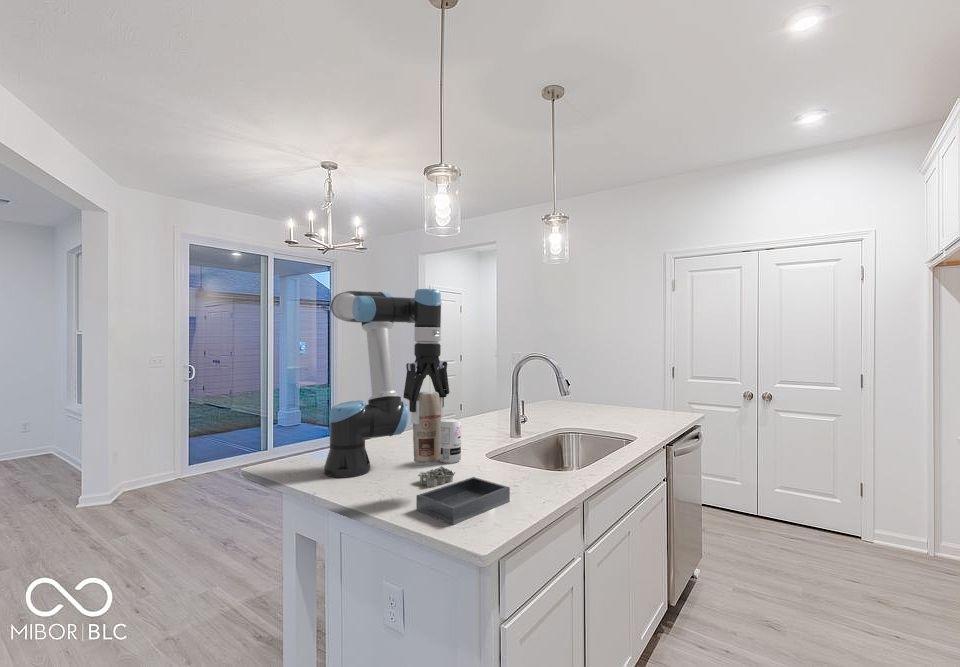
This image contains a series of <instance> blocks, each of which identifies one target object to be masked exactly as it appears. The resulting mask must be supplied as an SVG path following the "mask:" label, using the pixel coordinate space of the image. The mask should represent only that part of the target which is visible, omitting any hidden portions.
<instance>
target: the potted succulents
mask: <svg viewBox="0 0 960 667" xmlns="http://www.w3.org/2000/svg"><path fill="white" fill-rule="evenodd" d="M455 474H456V472H453V471H452V470H451V469H448V468H445V467H444V466H439V467H438V468H434V469H433V468H432V469H430V470H427V471H420V472H419V473H418V474H417V477H419V484H420V485H422V486H423V485H426V487H427V488H436V487H438V485H442V486H443V485H445V483H452V482H453V480H454V476H455Z"/></svg>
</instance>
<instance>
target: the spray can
mask: <svg viewBox="0 0 960 667" xmlns="http://www.w3.org/2000/svg"><path fill="white" fill-rule="evenodd" d="M417 400H418V401H419V424H414V423H412V433H413V434H412V437H413V439H412V442H413V446H412V447H413V461H414V462H415V463H420V464H421V463H422V464H424V463H435V462H438V461H440V459H441V415H440V398H439V393H438V392H435V391H433V392H432V391H420V392H419V395H418V398H417Z"/></svg>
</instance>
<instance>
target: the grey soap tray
mask: <svg viewBox="0 0 960 667" xmlns="http://www.w3.org/2000/svg"><path fill="white" fill-rule="evenodd" d="M510 488H511V487H510V486H508V485H507V486H506V485H503V484H500V483H496V482H494V481H493V482H492V481H489V480H486V479H482V478H479V477H475V476H472V477H469V478H466V479H462V480H460V481H457V482H454V483H451V484H450V483H449V484H447V485H444V486H441V487H438V488H435V489H432V490H429V491H425V492H423V493H421V494H420V493H419V494H416V503H415V504H416V506H415V507H416V509H415V510H416V511H417V512H418V513H419V512H420V513H421V514H424V515H427V516H429V517H433V518H435V519H437V520H440V521H442V522H444V523H447V524H449V525H452V526H454V525H457V524H459V523H462V522H464V521H466V520H469V519H471V518H474V517H476V516H478V515H481V514H483V513H486V512H488V511H491V510H493V509H495V508H498V507H499V506H503V505H505V504H508V503H510V501H511V500H510V499H511V496H510V493H511V492H510V491H511V490H510Z"/></svg>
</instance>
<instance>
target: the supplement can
mask: <svg viewBox="0 0 960 667" xmlns="http://www.w3.org/2000/svg"><path fill="white" fill-rule="evenodd" d="M461 459H462V424H461V422H460V419H457V418H442V420H441V459H440V460H439V461H440V462H441V463H443V464H455V463H459V462H460V460H461Z"/></svg>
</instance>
